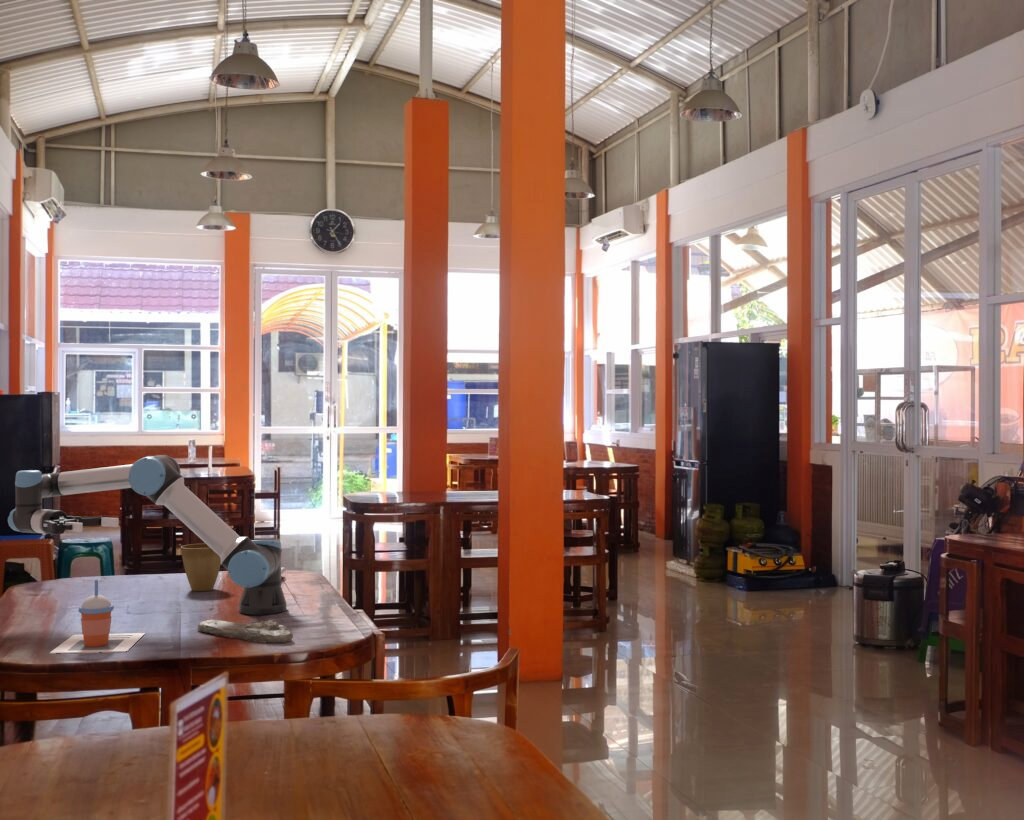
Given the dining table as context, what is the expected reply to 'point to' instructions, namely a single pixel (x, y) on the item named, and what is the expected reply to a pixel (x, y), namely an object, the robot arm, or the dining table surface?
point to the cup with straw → (96, 619)
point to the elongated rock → (248, 630)
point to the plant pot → (200, 566)
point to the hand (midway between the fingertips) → (100, 525)
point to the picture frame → (114, 645)
